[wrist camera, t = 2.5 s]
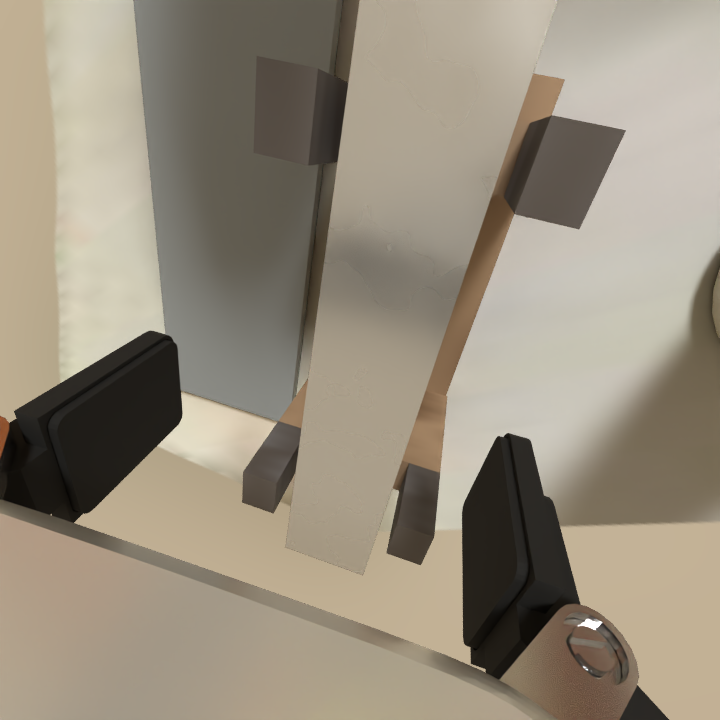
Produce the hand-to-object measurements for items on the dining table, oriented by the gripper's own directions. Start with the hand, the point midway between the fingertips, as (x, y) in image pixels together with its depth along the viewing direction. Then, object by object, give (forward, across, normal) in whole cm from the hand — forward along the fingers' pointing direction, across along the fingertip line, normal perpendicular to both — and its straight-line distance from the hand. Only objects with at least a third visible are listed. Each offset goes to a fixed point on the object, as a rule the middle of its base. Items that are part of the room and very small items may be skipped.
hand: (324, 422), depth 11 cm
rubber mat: (+14, +10, 0) cm, 17 cm away
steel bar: (+6, -1, 0) cm, 6 cm away
